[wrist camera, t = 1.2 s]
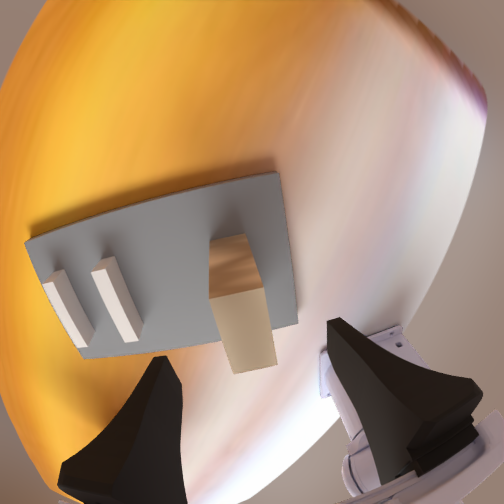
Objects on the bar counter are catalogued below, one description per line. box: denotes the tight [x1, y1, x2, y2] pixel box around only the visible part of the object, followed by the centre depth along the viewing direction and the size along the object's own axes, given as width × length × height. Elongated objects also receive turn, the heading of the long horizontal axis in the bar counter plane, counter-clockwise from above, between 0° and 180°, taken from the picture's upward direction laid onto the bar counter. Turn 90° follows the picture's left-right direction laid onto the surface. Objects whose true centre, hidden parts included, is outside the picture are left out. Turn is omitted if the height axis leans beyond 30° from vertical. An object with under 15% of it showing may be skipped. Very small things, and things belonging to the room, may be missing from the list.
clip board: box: [24, 171, 298, 359], centre depth 18 cm, size 20×12×3 cm, turn 100°
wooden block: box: [209, 233, 278, 374], centre depth 16 cm, size 2×5×7 cm, turn 10°
